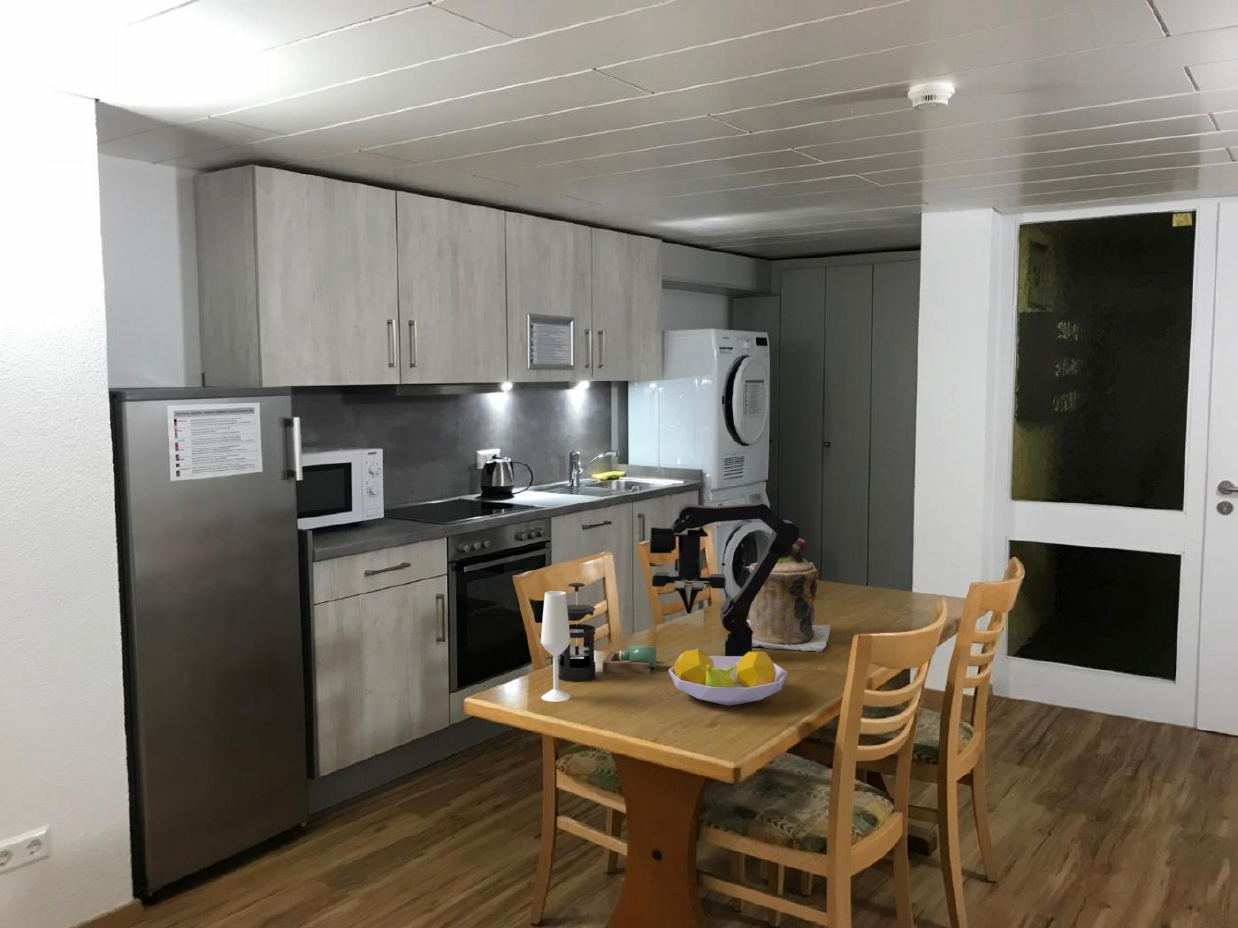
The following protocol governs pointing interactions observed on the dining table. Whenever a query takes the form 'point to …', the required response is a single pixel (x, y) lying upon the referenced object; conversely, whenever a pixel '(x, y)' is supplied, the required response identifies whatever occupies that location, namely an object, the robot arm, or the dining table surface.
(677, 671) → the fruit bowl
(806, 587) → the cookie jar
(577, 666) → the french press
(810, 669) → the dining table surface
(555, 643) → the champagne flute
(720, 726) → the dining table surface
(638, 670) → the shallow wooden tray
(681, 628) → the dining table surface
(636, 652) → the bottle
